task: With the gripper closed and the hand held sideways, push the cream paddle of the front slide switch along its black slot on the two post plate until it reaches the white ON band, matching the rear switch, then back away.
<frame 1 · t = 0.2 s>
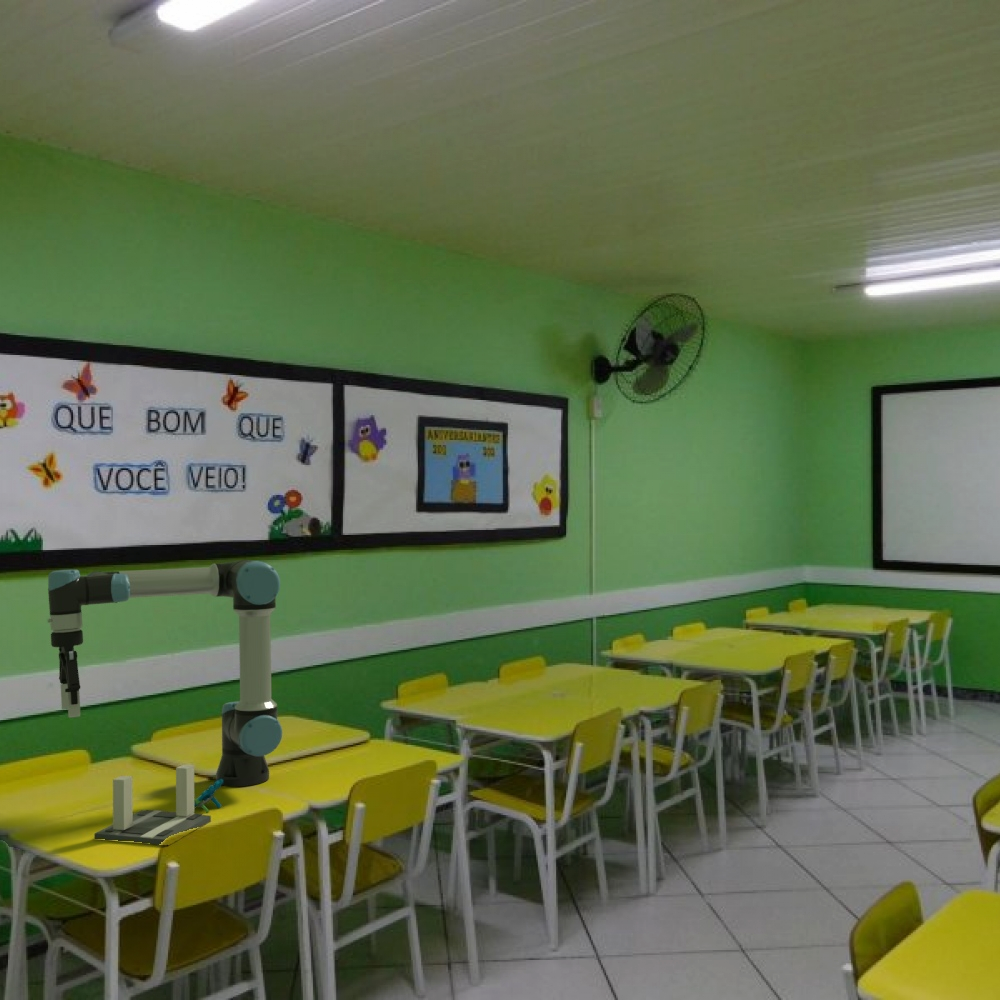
hand: (71, 712, 256), 27 cm above the table, tool pointing down, fingers open, 13 cm apart
two post plate: (154, 830, 247), on the table
tab 1: (122, 802, 242), point 8 cm above the table, slide at 0.0 cm
blue green branched piece: (207, 808, 265), on the table
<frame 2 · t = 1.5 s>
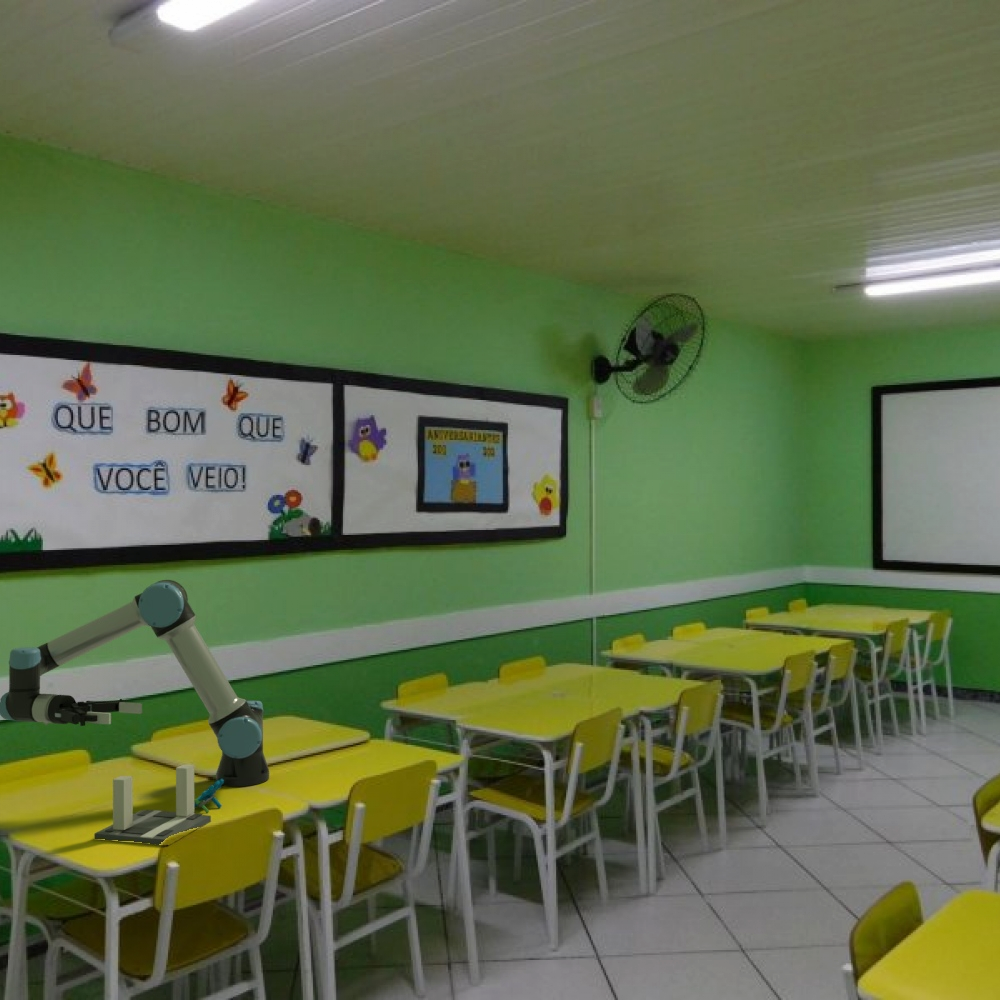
hand: (126, 713, 260), 26 cm above the table, tool horizontal, fingers open, 13 cm apart
nothing on the table moved.
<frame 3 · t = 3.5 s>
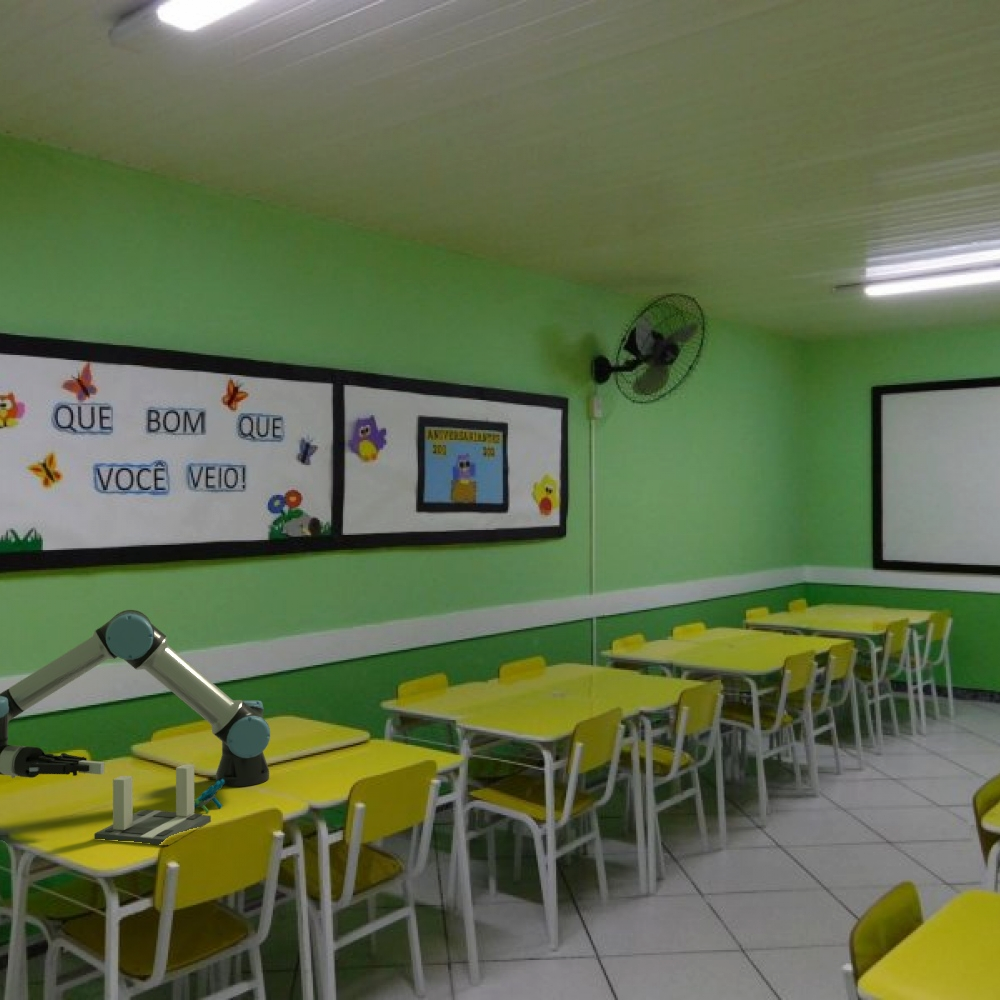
hand: (102, 768, 249), 15 cm above the table, tool horizontal, fingers closed
nothing on the table moved.
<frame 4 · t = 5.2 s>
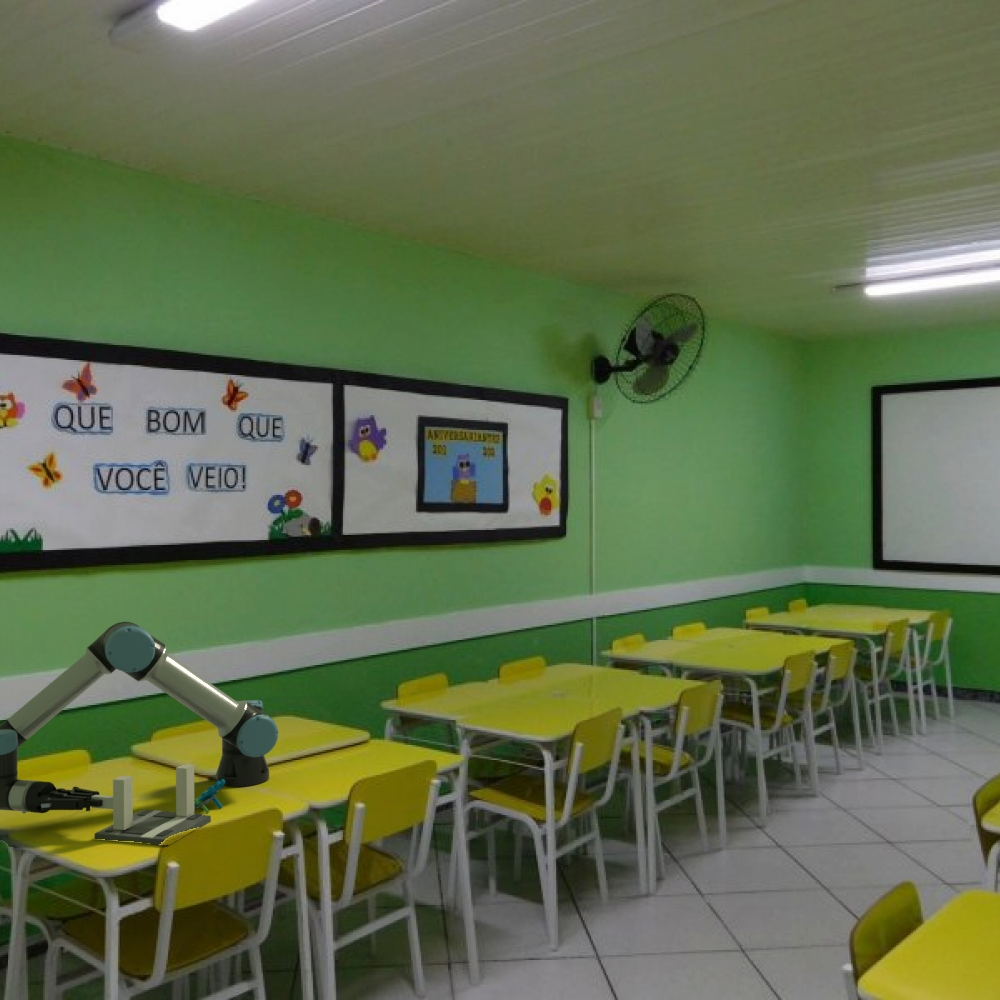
hand: (116, 802, 243), 8 cm above the table, tool horizontal, fingers closed
tab 1: (123, 802, 242), point 8 cm above the table, slide at 0.0 cm, touching gripper
everything else where it was.
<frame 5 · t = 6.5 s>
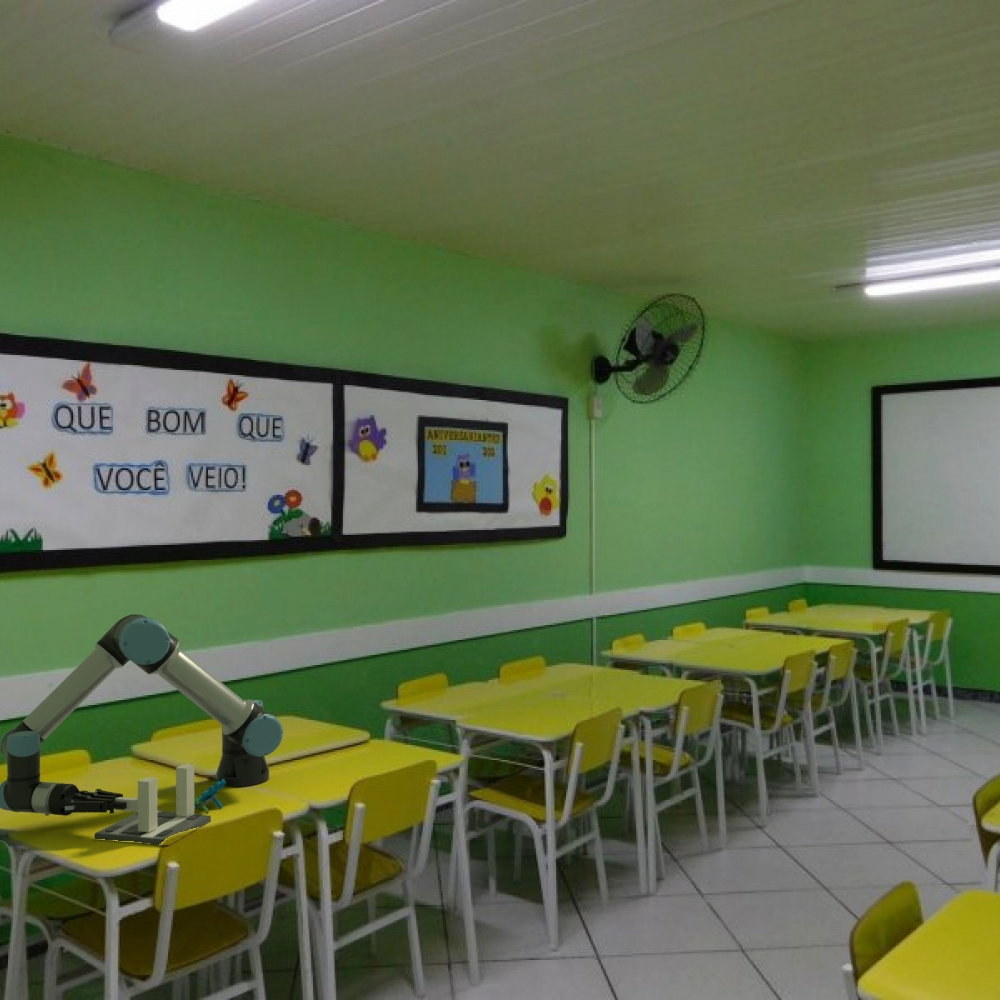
hand: (140, 805, 241), 8 cm above the table, tool horizontal, fingers closed
tab 1: (147, 804, 241), point 8 cm above the table, slide at 6.9 cm, touching gripper
everything else where it was.
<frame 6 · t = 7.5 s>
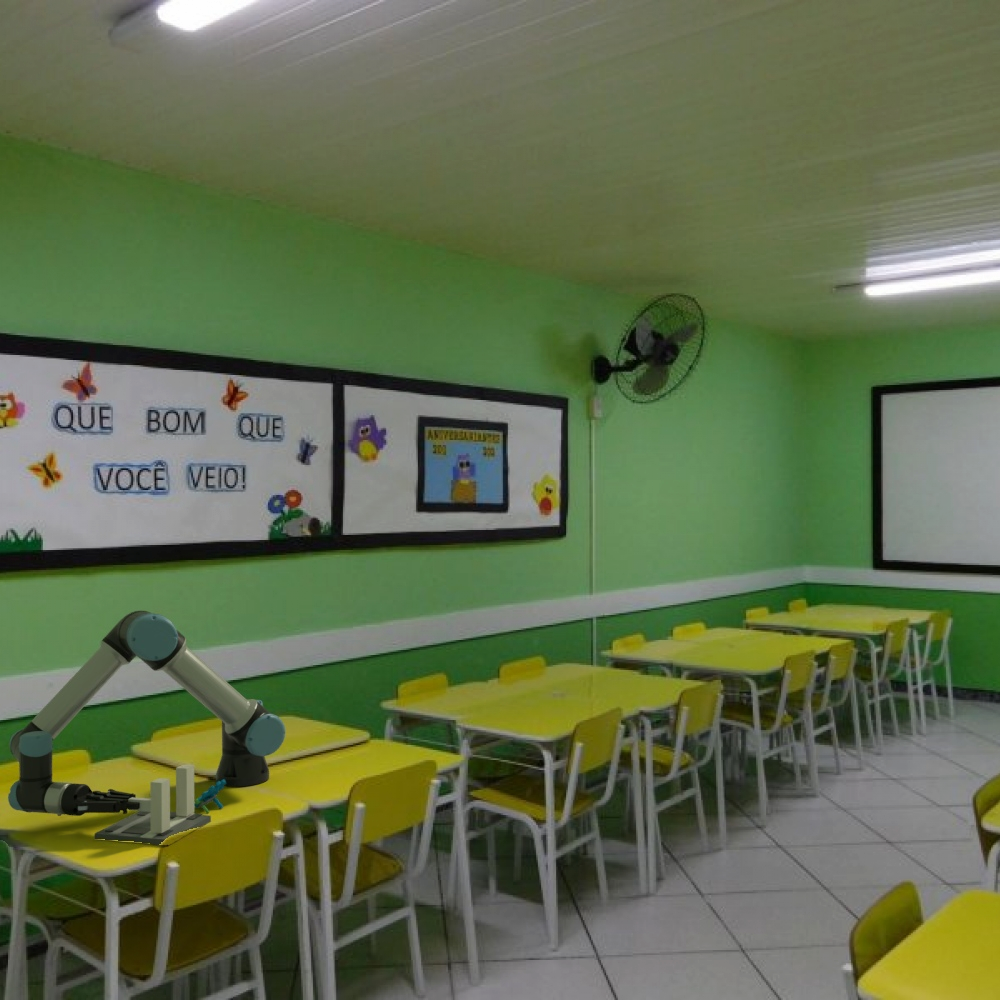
hand: (153, 805, 240), 8 cm above the table, tool horizontal, fingers closed
tab 1: (160, 805, 240), point 8 cm above the table, slide at 10.3 cm, touching gripper
everything else where it was.
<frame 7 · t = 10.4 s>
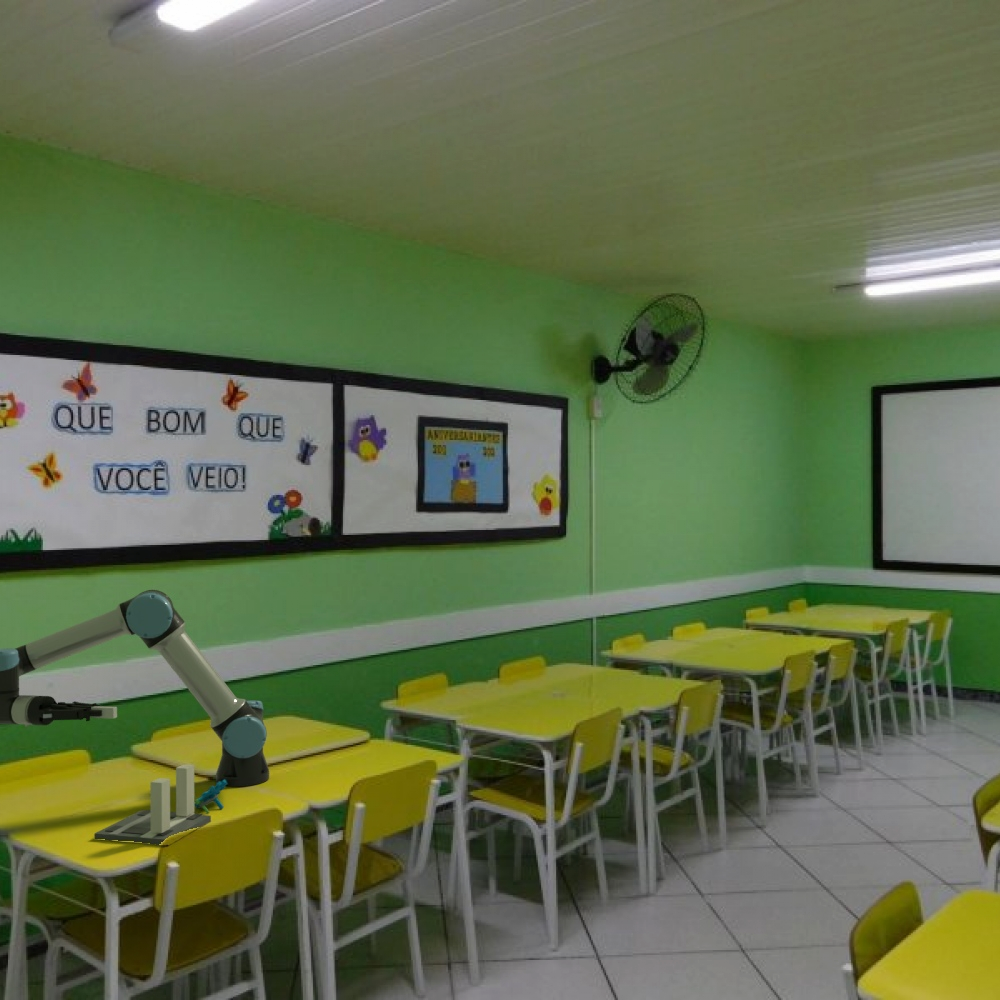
hand: (115, 712, 254), 28 cm above the table, tool horizontal, fingers closed
tab 1: (160, 805, 240), point 8 cm above the table, slide at 10.3 cm
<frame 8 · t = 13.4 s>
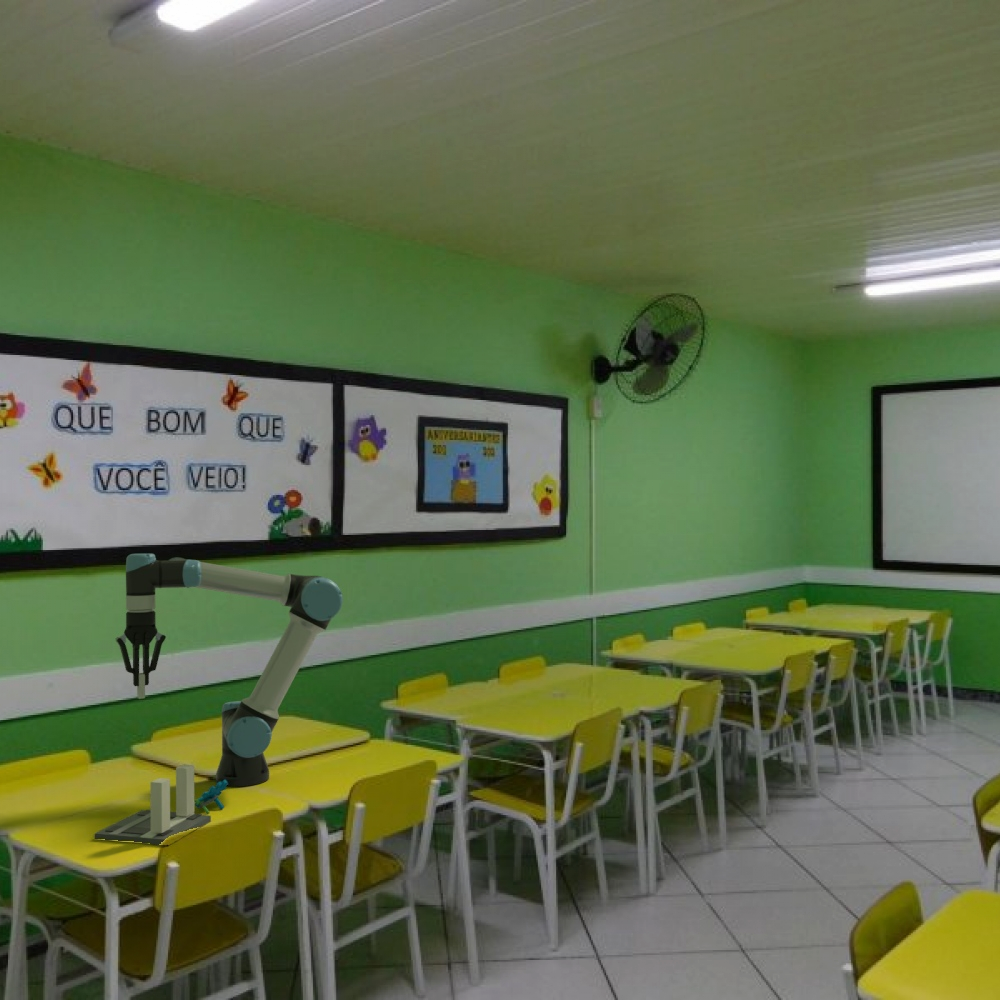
hand: (141, 697, 270), 28 cm above the table, tool pointing down, fingers closed
at the end: tab 1 slide at 10.3 cm; tab 1 1.2 cm from the target spot, resting on two post plate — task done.
